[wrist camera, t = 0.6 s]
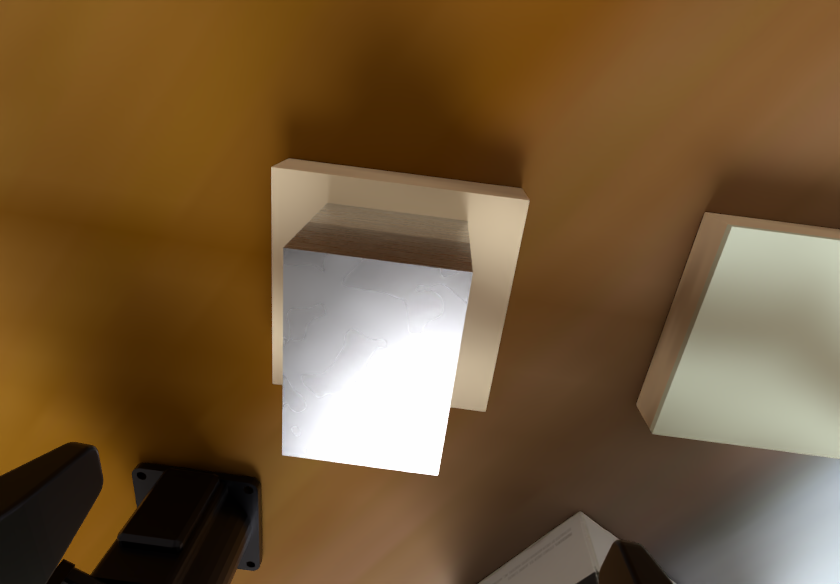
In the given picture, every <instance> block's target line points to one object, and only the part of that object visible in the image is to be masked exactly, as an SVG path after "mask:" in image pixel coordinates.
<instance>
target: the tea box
mask: <svg viewBox="0 0 840 584" xmlns="http://www.w3.org/2000/svg"><path fill="white" fill-rule="evenodd" d="M616 540H619V539H618V538H617V537H615V536H614V535H613V534H611V533H610V532H609V531H607V530H605V529H603V528H602V527H601V526H599V525H598V524H597V523H596V522H594V521H593V520H592V519H590V518H589V517H588V516H586V515H585V514H584V513H583V512H581V511H580V512H578V513H576V514H575V515H573V516H572V517H571V518H569V519H568V520H566V521H565V522H563V523H562V524H560V525H559V526H558V527H556V528H555V529H553V530H552V531H550V532H549V533H548V534H546V535H545V536H543V537H542V538H541V539H539V540H538V541H536V542H535V543H534V544H532V545H531V546H529V547H528V548H527V549H525V550H524V551H523V552H521V553H520V554H518V555H517V556H516V557H514V558H513V559H511V560H510V561H509V562H507V563H506V564H504V565H503V566H502V567H500V568H499V569H498V570H496V571H495V572H493V573H492V574H491V575H489V576H488V577H486V578H485V579H483V580H482V581H481V582H480V583H478V584H599V571H600V568H601V566H602V564H603V562H604V560H605V558H606V555H607V553H608V551H609V549H610V547H611V545H612V543H613V542H614V541H616ZM669 579H670V578H669ZM670 580H671V579H670ZM671 581H672V580H671ZM672 582H673V584H676V583H675V582H674V581H672Z"/></svg>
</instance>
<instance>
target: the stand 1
mask: <svg viewBox="0 0 840 584" xmlns="http://www.w3.org/2000/svg"><path fill="white" fill-rule="evenodd" d="M529 201H530V200H529V199H528V197H527V195H526V194H525V192H524V191H523V189H522V188H516V187H508V186H500V185H492V184H485V183H477V182H469V181H461V180H454V179H446V178H438V177H430V176H423V175H415V174H407V173H399V172H392V171H384V170H376V169H368V168H361V167H353V166H345V165H337V164H330V163H322V162H314V161H306V160H299V159H291V158H288V159H286V160H284V161H282V162H280V163H278V164H276V165H274V166H272V167H271V203H272V380H273V384H279V385H283V247H284V246H285V245H286V244H287V243H288V242H289V241H290V240H291V239H292V238H293V237H294V236H295V235H296V234H297V233H298V232H299V231H300V230H301V229H302V228H303V227H304V226H305V225H306V224H307V223H308V222H309V221H310V220H311V219H312V218H313V217H314V216H315V215H316V214H317V213H318V212H319V211H320V210H321V209H322V208H323V207H324V206H325V205H326V204H327V203H333V204H341V205H348V206H356V207H364V208H372V209H379V210H387V211H395V212H402V213H410V214H418V215H426V216H433V217H441V218H449V219H456V220H464V221H468V230H469V239H470V249H471V258H472V268H473V275H472V281H471V287H470V293H469V298H468V304H467V310H466V316H465V322H464V328H463V333H462V339H461V345H460V351H459V357H458V362H457V368H456V374H455V380H454V386H453V392H452V397H451V403H450V407H452V408H460V409H468V410H475V411H483V412H486V407H487V402H488V398H489V393H490V388H491V383H492V378H493V374H494V369H495V364H496V359H497V354H498V350H499V345H500V340H501V335H502V330H503V326H504V321H505V316H506V311H507V306H508V302H509V297H510V292H511V287H512V283H513V278H514V273H515V268H516V263H517V259H518V254H519V249H520V244H521V239H522V235H523V230H524V225H525V220H526V215H527V211H528V206H529Z"/></svg>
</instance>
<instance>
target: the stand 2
mask: <svg viewBox="0 0 840 584" xmlns="http://www.w3.org/2000/svg"><path fill="white" fill-rule="evenodd" d="M636 406H637V408H638V409H639V411H640V413H641V415H642V417H643V418H644V420H645V422H646V424H647V426H648V427H649V429H650V431H651V433H652V434H656V435H663V436H671V437H679V438H686V439H694V440H701V441H709V442H716V443H724V444H731V445H739V446H746V447H754V448H761V449H769V450H776V451H784V452H792V453H799V454H807V455H814V456H822V457H829V458H837V459H840V229H834V228H826V227H818V226H810V225H803V224H795V223H787V222H779V221H772V220H764V219H756V218H748V217H741V216H733V215H725V214H717V213H710V212H705V213H704V216H703V219H702V221H701V224H700V227H699V230H698V233H697V235H696V238H695V241H694V244H693V247H692V249H691V252H690V255H689V258H688V261H687V263H686V266H685V269H684V272H683V275H682V277H681V280H680V283H679V286H678V289H677V291H676V294H675V297H674V300H673V303H672V305H671V308H670V311H669V314H668V316H667V319H666V322H665V325H664V328H663V330H662V333H661V336H660V339H659V342H658V344H657V347H656V350H655V353H654V356H653V358H652V361H651V364H650V367H649V370H648V372H647V375H646V378H645V381H644V384H643V386H642V389H641V392H640V395H639V398H638V400H637V403H636Z"/></svg>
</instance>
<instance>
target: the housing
mask: <svg viewBox="0 0 840 584" xmlns="http://www.w3.org/2000/svg"><path fill="white" fill-rule="evenodd" d="M472 275H473V268H472V258H471V249H470V239H469V230H468V221H464V220H456V219H449V218H441V217H433V216H426V215H418V214H410V213H402V212H395V211H387V210H379V209H372V208H364V207H356V206H348V205H341V204H333V203H327V204H326V205H325V206H324V207H323V208H322V209H321V210H320V211H319V212H318V213H317V214H316V215H315V216H314V217H313V218H312V219H311V220H310V221H309V222H308V223H307V224H306V225H305V226H304V227H303V228H302V229H301V230H300V231H299V232H298V233H297V234H296V235H295V236H294V237H293V238H292V239H291V240H290V241H289V242H288V243H287V244H286V245H285V246H284V247H283V422H282V455H286V456H294V457H301V458H309V459H316V460H324V461H331V462H339V463H346V464H353V465H361V466H368V467H376V468H383V469H391V470H398V471H406V472H413V473H421V474H428V475H436V476H438V473H439V467H440V461H441V456H442V450H443V444H444V438H445V432H446V426H447V421H448V415H449V409H450V403H451V397H452V392H453V386H454V380H455V374H456V368H457V362H458V357H459V351H460V345H461V339H462V333H463V328H464V322H465V316H466V310H467V304H468V298H469V293H470V287H471V281H472Z"/></svg>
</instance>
